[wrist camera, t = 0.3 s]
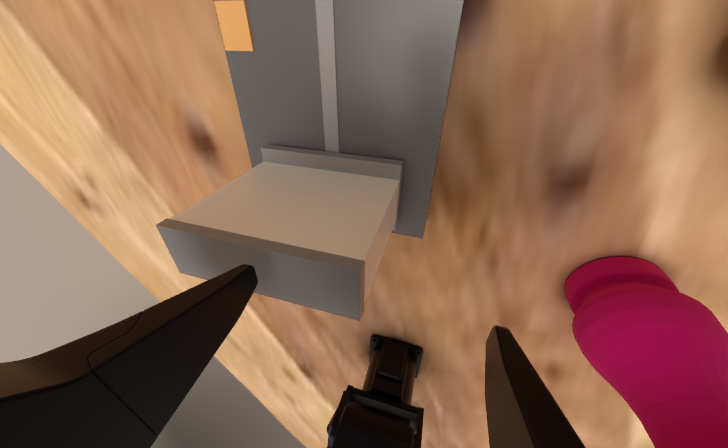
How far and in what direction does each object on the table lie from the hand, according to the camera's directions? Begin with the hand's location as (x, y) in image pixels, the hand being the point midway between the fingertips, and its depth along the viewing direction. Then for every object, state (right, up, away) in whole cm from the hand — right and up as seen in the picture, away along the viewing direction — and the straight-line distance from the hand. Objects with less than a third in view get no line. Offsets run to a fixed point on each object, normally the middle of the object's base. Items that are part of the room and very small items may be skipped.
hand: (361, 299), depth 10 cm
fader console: (-1, +12, +10) cm, 15 cm away
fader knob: (-2, +6, +10) cm, 12 cm away
